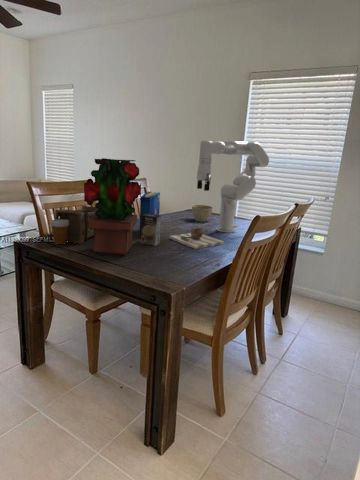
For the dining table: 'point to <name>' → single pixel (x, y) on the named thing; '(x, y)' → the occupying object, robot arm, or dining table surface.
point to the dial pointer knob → (195, 233)
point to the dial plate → (196, 241)
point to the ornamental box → (78, 223)
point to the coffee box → (150, 229)
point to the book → (149, 205)
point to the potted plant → (113, 205)
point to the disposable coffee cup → (60, 230)
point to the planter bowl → (201, 212)
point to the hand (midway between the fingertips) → (202, 189)
